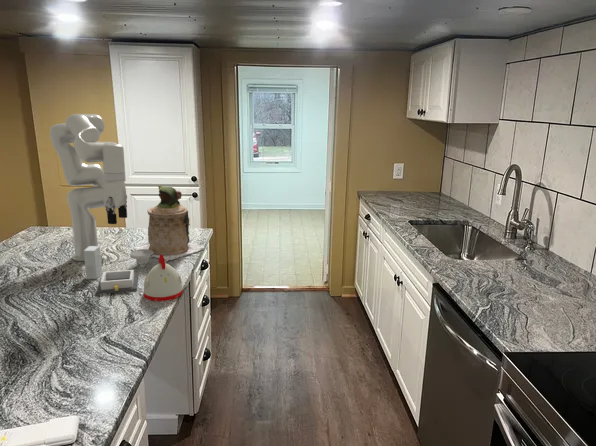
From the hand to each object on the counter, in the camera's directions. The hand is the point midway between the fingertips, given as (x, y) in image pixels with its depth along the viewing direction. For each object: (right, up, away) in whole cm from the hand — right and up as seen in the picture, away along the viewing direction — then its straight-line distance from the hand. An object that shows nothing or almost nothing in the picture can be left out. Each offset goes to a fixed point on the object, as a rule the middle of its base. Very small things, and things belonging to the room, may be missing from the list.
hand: (117, 220), depth 171 cm
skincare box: (-12, -23, +6) cm, 27 cm away
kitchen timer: (+20, -27, -7) cm, 35 cm away
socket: (+1, -25, -2) cm, 25 cm away
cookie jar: (+8, -15, +41) cm, 44 cm away
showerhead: (+3, -20, +19) cm, 28 cm away
